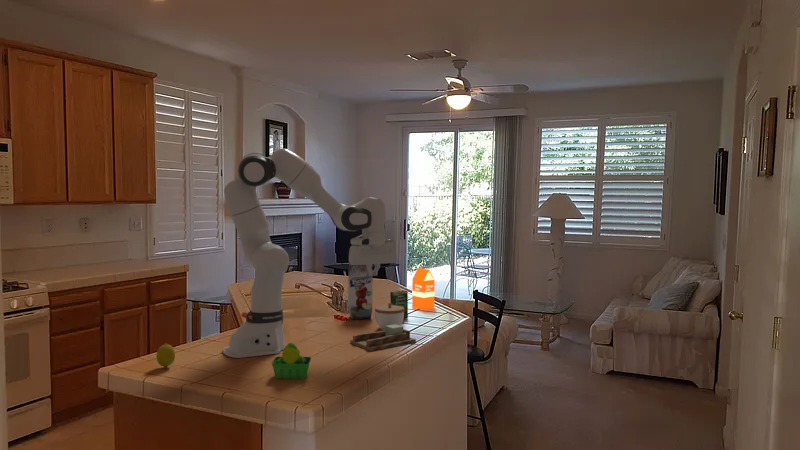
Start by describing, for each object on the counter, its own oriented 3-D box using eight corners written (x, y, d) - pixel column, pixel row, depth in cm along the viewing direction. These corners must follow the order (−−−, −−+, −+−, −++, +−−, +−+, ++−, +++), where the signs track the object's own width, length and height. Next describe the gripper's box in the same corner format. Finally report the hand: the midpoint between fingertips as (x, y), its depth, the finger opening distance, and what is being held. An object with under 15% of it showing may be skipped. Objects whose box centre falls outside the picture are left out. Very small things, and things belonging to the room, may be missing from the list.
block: (392, 339, 210) (392, 328, 210) (385, 337, 214) (385, 325, 214) (403, 337, 213) (403, 326, 213) (395, 335, 217) (395, 324, 217)
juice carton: (347, 316, 258) (347, 259, 256) (368, 315, 261) (369, 259, 260) (351, 320, 249) (351, 261, 248) (373, 319, 252) (373, 261, 251)
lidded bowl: (385, 324, 242) (385, 299, 241) (409, 327, 235) (409, 302, 235) (369, 330, 231) (369, 304, 230) (394, 333, 224) (394, 307, 224)
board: (370, 351, 198) (370, 340, 198) (350, 343, 209) (350, 332, 209) (415, 342, 211) (415, 332, 211) (394, 335, 222) (394, 325, 222)
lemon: (169, 364, 181) (169, 340, 181) (178, 367, 178) (178, 343, 177) (153, 368, 177) (153, 343, 176) (161, 371, 173) (161, 346, 173)
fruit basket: (311, 372, 174) (311, 337, 173) (307, 381, 165) (307, 344, 165) (275, 372, 174) (275, 337, 173) (270, 381, 165) (269, 344, 164)
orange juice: (423, 305, 287) (423, 267, 286) (434, 307, 280) (435, 269, 279) (411, 307, 282) (412, 268, 281) (423, 309, 275) (423, 270, 274)
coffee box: (392, 320, 249) (393, 292, 249) (389, 319, 252) (390, 291, 251) (408, 318, 253) (408, 290, 252) (405, 317, 256) (405, 289, 255)
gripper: (390, 238, 217) (390, 273, 217) (346, 239, 204) (346, 276, 205) (400, 239, 212) (399, 275, 212) (355, 241, 199) (355, 278, 200)
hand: (373, 275), depth 208 cm, fingers closed
